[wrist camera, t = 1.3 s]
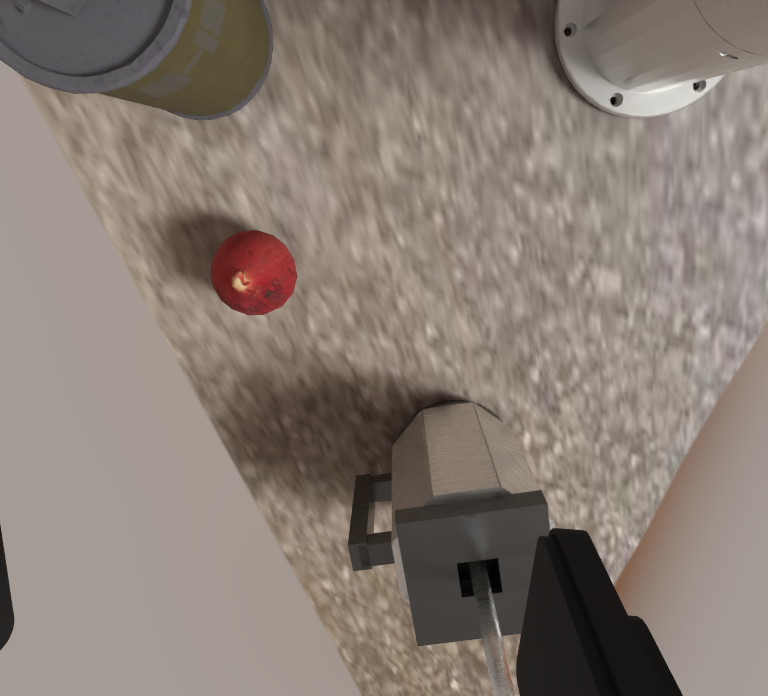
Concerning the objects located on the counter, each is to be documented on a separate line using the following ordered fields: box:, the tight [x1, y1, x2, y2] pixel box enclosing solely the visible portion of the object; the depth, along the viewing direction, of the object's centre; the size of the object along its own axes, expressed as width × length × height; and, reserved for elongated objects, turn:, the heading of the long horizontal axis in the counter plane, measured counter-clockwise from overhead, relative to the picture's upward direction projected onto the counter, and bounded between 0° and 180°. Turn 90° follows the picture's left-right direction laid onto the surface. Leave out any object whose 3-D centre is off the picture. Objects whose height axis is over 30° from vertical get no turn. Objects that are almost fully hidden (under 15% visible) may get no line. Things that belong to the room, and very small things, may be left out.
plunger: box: [457, 558, 516, 696], centre depth 29 cm, size 7×7×20 cm
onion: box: [211, 230, 297, 315], centre depth 42 cm, size 6×6×8 cm
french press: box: [348, 400, 555, 646], centre depth 43 cm, size 13×10×16 cm
